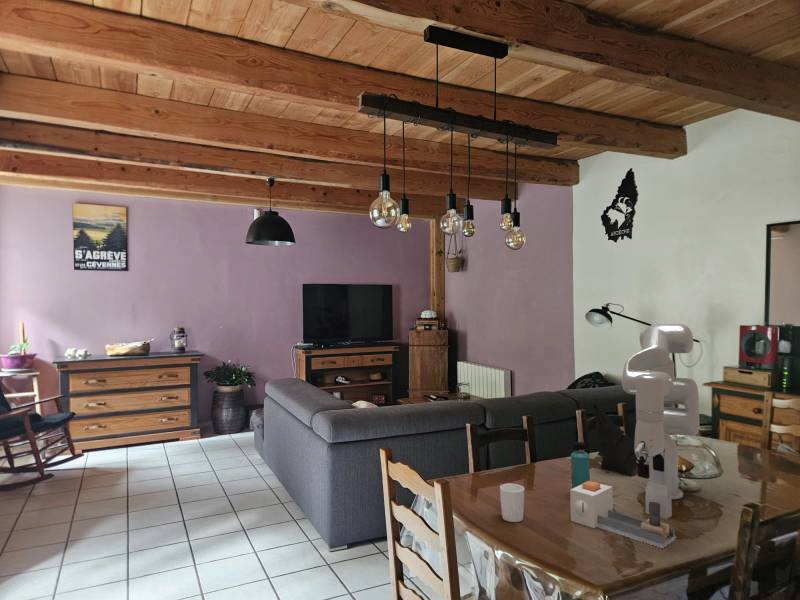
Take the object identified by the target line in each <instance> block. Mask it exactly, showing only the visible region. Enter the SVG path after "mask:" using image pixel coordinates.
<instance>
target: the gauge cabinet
mask: <svg viewBox="0 0 800 600" xmlns="http://www.w3.org/2000/svg"><path fill="white" fill-rule="evenodd" d="M569 492H570V493H569V495H570V497H569V499H570V521H571V522H574V523H577V524H580V525H583V526H585V527H588V528H592V529H596V528H598V527H597V525H596V523H598V518H597V516H599V515H600V516H603V517H606V518H607V517H608V510H612V511H614V508H613V507H614V505H613V503H614V502H613V501H614V500H613V498H614V496H613V486H610V485H606V484H603V483H600V490H598V491H595V492H593V491H589V490H586V489H582V485H579V486H577V487H575V488H573V489H572V488H571V489H570V491H569Z"/></svg>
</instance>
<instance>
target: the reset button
mask: <svg viewBox="0 0 800 600" xmlns="http://www.w3.org/2000/svg"><path fill="white" fill-rule="evenodd" d="M600 484H601V483H599V482H595V481H591V480H590V481H587V482H585V483H582V489H586V490H589V491H593V492H595V491H598V490H600Z"/></svg>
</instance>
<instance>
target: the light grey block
mask: <svg viewBox="0 0 800 600" xmlns="http://www.w3.org/2000/svg"><path fill="white" fill-rule="evenodd" d="M646 486H647V490H646V492H645V496H644V497H645V500H644V501H645V514H646V513H647V514H646V515H649V502H657V503H659V504H660V517H662V518H665V519H664V520H666V519H667V518H669V517H671V516H672V517H673V514H672V513H673V510H672V505H673V504H672V503H673V502H672V499H671V495H670V491H669V487H666V486H662V485H658V484H654V483H650V482H649V481H648V482H647V484H646ZM672 517H671V518H672ZM662 518H661V519H662ZM669 519H670V518H669ZM667 520H668V519H667Z"/></svg>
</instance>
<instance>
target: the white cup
mask: <svg viewBox="0 0 800 600" xmlns="http://www.w3.org/2000/svg"><path fill="white" fill-rule="evenodd" d="M499 495H500V497H499V498H500V508H501V518H502V519H503V520H504V521H506V522H510V523H517V522H518V523H519V522H522V521H523V520H524V508H525V487H524V486H523V485H520V484H517V483H504V484H501V485H500V486H499Z"/></svg>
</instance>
